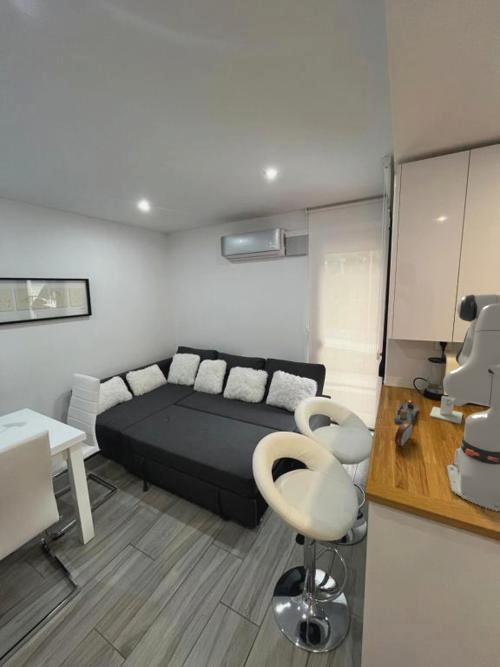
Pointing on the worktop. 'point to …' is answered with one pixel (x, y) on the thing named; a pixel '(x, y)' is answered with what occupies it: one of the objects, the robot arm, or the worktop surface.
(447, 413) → the grey rectangular block
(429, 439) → the worktop surface
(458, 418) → the cutting board
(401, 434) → the tin
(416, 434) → the worktop surface
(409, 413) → the hand plane
